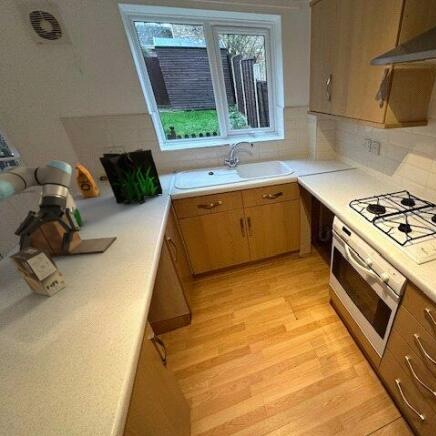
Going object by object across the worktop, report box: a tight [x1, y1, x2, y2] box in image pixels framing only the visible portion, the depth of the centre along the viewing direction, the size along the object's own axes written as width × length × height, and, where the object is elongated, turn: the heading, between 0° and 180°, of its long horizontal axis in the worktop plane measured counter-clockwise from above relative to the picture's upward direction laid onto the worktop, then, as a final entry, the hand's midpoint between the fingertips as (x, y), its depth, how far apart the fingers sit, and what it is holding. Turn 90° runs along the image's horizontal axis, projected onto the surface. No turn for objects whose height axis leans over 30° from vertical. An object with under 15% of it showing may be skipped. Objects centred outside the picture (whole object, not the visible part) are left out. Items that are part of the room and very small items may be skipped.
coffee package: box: [74, 163, 100, 199], centre depth 167 cm, size 10×12×22 cm
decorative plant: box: [98, 148, 164, 206], centre depth 162 cm, size 29×30×30 cm
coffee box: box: [8, 247, 69, 297], centre depth 85 cm, size 9×6×16 cm
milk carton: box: [66, 191, 83, 227], centre depth 128 cm, size 9×9×20 cm
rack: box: [15, 214, 117, 258], centre depth 108 cm, size 28×12×17 cm, turn 99°
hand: (44, 252), depth 87 cm, fingers open, 13 cm apart
